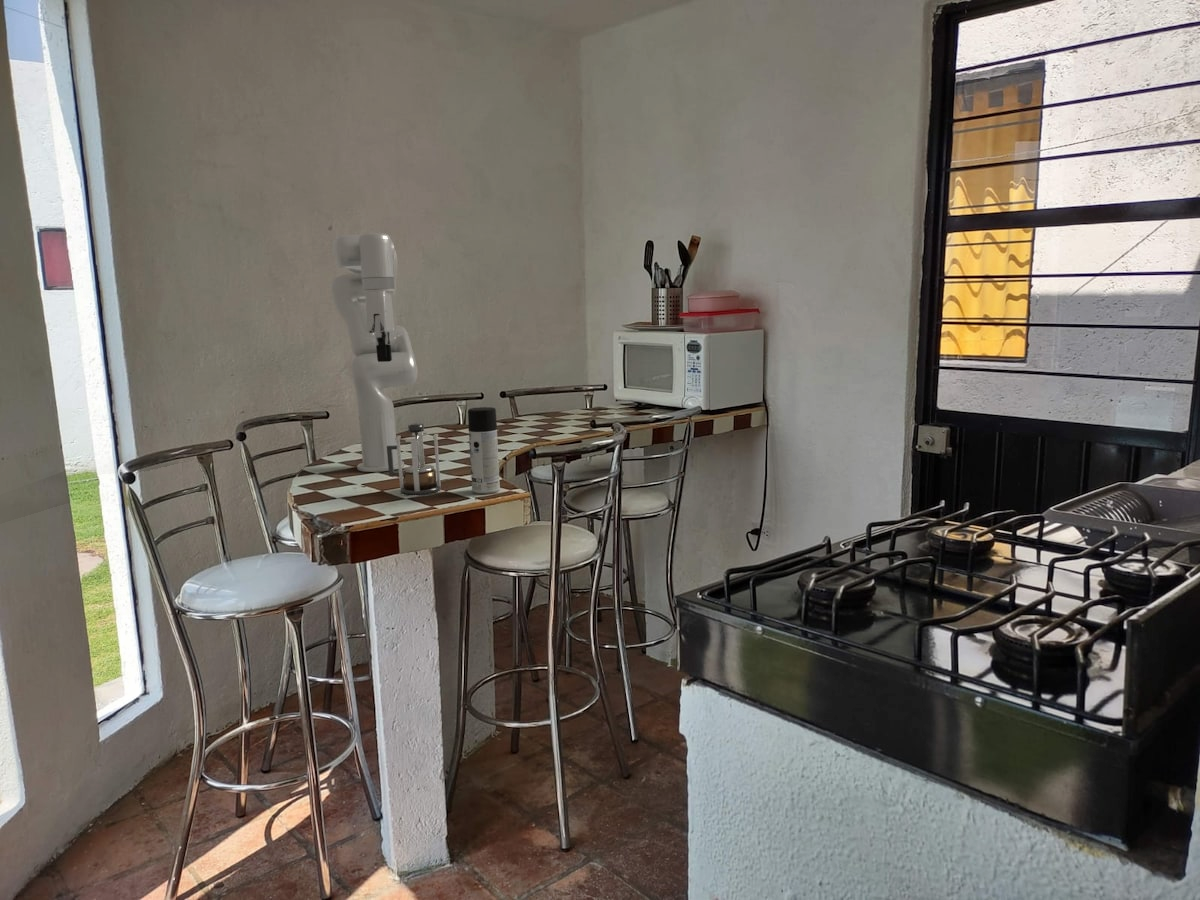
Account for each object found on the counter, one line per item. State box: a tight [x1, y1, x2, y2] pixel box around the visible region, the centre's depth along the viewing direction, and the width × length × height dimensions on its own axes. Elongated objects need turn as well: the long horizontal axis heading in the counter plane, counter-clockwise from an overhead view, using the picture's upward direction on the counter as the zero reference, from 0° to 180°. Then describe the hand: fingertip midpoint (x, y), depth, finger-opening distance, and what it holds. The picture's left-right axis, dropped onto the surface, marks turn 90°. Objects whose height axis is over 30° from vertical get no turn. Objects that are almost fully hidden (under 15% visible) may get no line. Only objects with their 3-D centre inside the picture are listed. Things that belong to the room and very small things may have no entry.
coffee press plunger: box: [403, 422, 435, 473], centre depth 209 cm, size 7×7×11 cm
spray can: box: [467, 406, 501, 495], centre depth 207 cm, size 7×7×20 cm
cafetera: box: [387, 431, 442, 496], centre depth 210 cm, size 10×12×14 cm
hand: (384, 361), depth 214 cm, fingers closed
